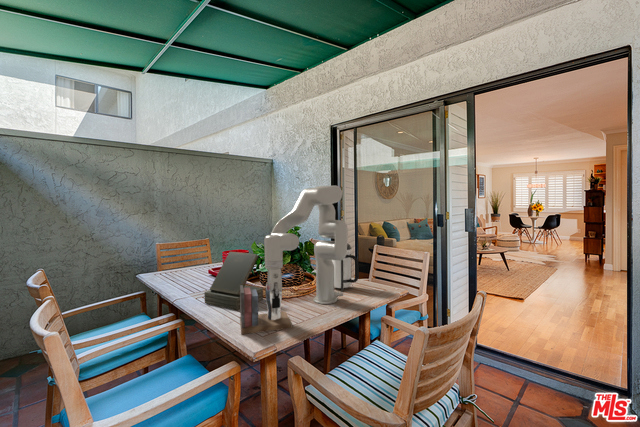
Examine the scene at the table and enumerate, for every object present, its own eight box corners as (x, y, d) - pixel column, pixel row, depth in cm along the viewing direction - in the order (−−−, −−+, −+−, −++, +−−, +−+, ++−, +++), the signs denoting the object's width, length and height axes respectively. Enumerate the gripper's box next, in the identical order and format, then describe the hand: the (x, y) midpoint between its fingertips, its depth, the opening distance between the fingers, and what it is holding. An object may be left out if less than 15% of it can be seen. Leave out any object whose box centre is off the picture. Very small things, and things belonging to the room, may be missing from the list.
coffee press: (328, 292, 171) (328, 240, 170) (328, 284, 187) (328, 237, 186) (358, 292, 171) (358, 240, 170) (356, 285, 187) (356, 237, 186)
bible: (204, 303, 154) (203, 255, 153) (232, 293, 171) (231, 250, 170) (237, 311, 143) (236, 259, 142) (263, 299, 160) (263, 253, 159)
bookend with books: (285, 315, 135) (285, 280, 135) (291, 327, 122) (291, 289, 122) (240, 321, 130) (239, 284, 129) (241, 334, 116) (240, 293, 116)
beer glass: (274, 314, 132) (274, 280, 132) (285, 317, 128) (285, 283, 127) (262, 318, 127) (261, 283, 126) (273, 322, 122) (272, 286, 122)
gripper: (286, 267, 119) (286, 309, 120) (279, 259, 136) (279, 297, 136) (267, 268, 117) (268, 311, 117) (262, 260, 133) (263, 298, 134)
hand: (274, 303), depth 127 cm, fingers open, 9 cm apart
